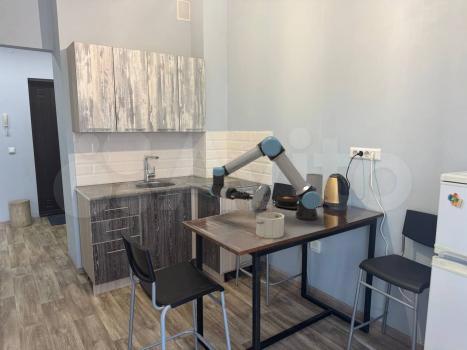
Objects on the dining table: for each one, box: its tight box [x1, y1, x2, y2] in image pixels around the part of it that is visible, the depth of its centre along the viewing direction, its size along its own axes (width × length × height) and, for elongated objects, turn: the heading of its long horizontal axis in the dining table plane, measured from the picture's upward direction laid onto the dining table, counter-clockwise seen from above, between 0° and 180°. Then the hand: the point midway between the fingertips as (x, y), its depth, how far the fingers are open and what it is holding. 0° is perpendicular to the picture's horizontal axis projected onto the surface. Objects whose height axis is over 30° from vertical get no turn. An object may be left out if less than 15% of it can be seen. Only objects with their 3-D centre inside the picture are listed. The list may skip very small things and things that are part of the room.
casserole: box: [272, 194, 299, 210], centre depth 262 cm, size 25×19×8 cm
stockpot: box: [254, 211, 285, 239], centre depth 198 cm, size 17×23×11 cm
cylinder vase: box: [305, 173, 324, 207], centre depth 265 cm, size 12×12×25 cm
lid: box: [250, 184, 272, 215], centre depth 200 cm, size 18×17×2 cm
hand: (258, 198), depth 200 cm, fingers closed
